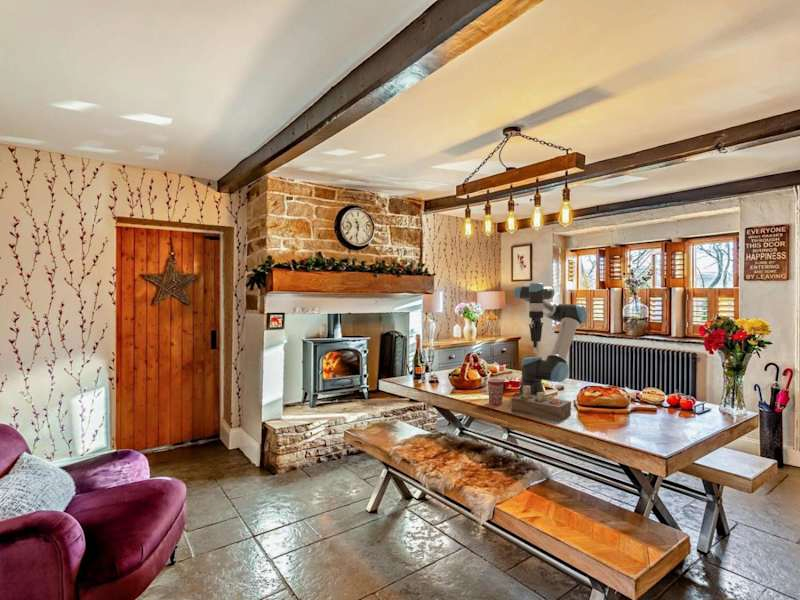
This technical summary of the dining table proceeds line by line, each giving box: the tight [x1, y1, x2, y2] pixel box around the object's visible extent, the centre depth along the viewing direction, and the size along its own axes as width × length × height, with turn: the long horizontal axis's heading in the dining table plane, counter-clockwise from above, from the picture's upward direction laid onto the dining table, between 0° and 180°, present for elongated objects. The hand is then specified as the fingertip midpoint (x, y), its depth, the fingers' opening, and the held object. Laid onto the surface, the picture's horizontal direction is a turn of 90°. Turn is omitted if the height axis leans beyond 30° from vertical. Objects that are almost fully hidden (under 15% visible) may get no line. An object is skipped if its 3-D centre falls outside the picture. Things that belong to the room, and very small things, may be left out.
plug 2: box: [551, 397, 561, 404], centre depth 227 cm, size 4×4×8 cm
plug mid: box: [537, 392, 546, 402], centre depth 232 cm, size 4×4×8 cm
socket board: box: [511, 394, 572, 422], centre depth 232 cm, size 14×26×7 cm, turn 48°
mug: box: [487, 377, 507, 406], centre depth 252 cm, size 13×9×14 cm
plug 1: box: [523, 386, 531, 399], centre depth 237 cm, size 4×4×8 cm
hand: (536, 353), depth 247 cm, fingers closed
